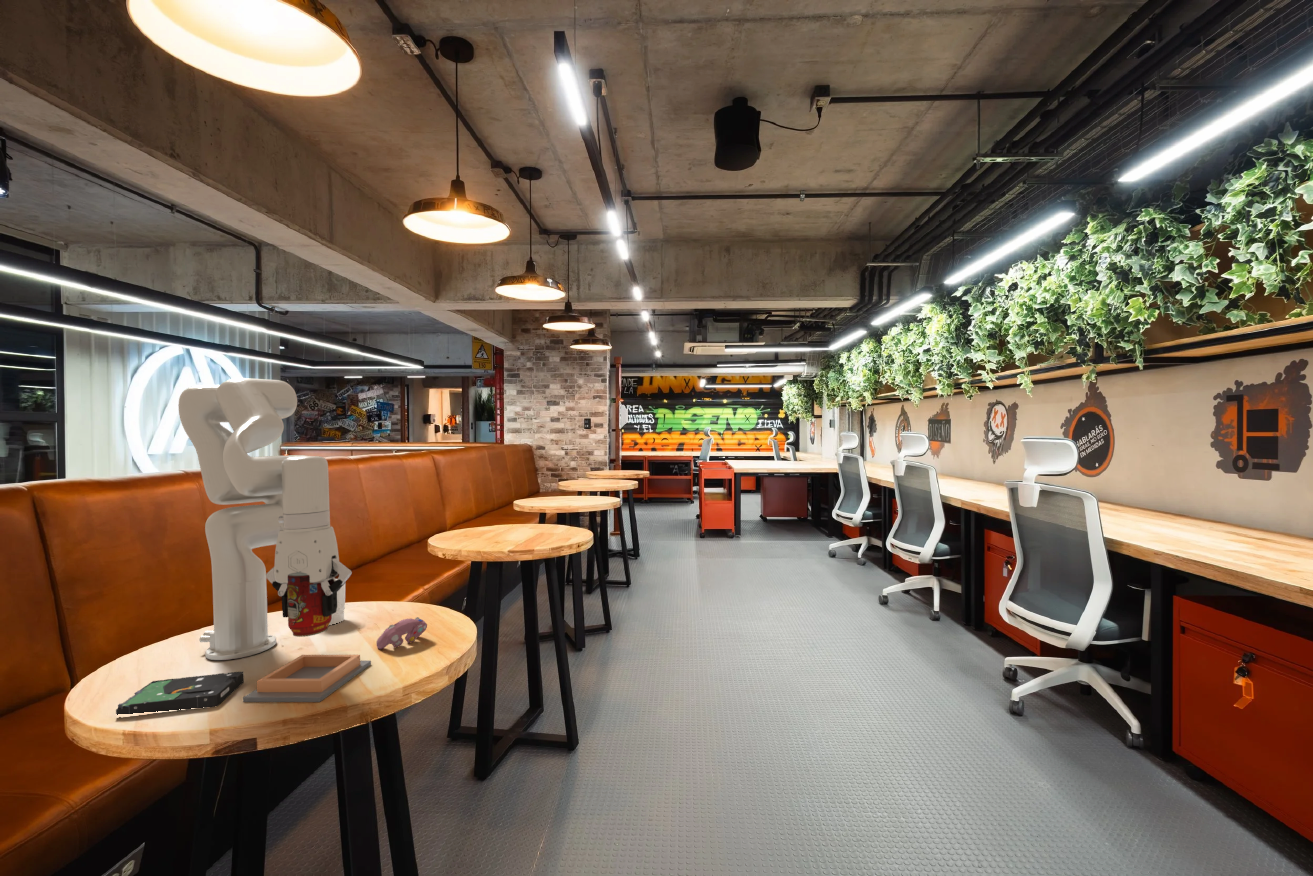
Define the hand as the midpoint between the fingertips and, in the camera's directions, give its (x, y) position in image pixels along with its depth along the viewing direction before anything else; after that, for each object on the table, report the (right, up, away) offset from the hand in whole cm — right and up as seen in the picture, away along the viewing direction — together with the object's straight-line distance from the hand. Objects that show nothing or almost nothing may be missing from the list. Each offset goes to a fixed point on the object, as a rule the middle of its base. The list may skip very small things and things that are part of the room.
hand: (310, 614), depth 107 cm
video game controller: (+9, -13, +19) cm, 25 cm away
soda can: (0, -3, 0) cm, 3 cm away
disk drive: (-19, -14, -6) cm, 24 cm away
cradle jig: (0, -13, 0) cm, 13 cm away
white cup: (-17, -13, +35) cm, 41 cm away
